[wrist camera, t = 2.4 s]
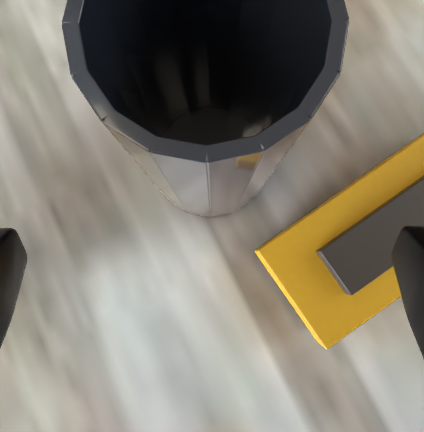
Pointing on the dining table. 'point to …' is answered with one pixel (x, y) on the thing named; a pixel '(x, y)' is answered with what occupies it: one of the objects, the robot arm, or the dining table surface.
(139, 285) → the dining table surface
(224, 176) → the tumbler
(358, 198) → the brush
